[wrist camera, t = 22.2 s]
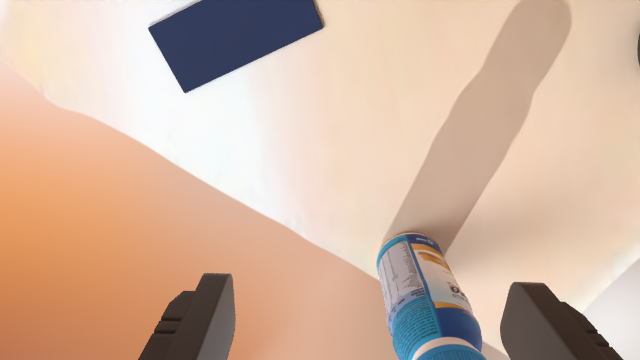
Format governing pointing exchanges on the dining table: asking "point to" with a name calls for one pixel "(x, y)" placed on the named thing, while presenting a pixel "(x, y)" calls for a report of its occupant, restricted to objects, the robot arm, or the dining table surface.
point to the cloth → (229, 35)
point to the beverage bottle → (425, 302)
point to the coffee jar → (639, 50)
